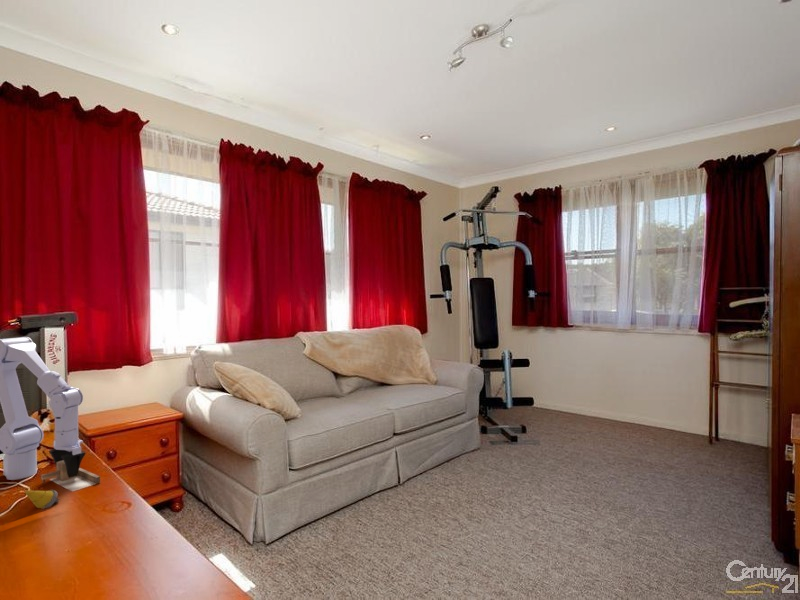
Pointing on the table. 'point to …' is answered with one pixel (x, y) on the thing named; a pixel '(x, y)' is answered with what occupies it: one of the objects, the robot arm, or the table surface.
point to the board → (79, 480)
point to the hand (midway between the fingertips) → (67, 473)
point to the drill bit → (42, 498)
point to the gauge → (58, 473)
